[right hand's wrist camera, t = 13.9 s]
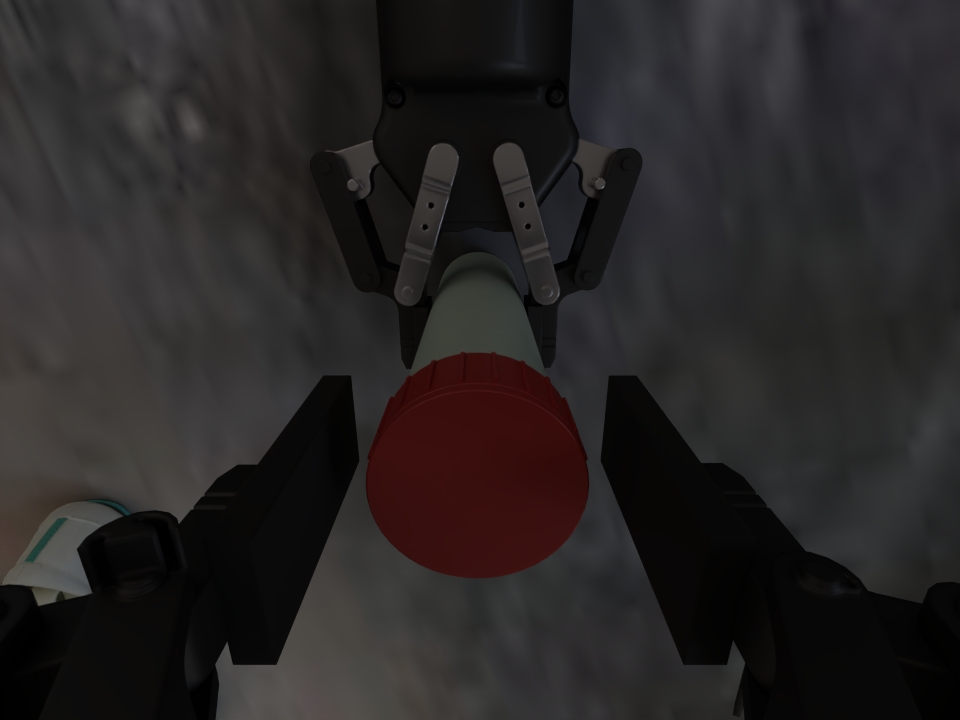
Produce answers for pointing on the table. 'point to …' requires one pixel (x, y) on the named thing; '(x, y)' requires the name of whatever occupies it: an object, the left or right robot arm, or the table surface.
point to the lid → (477, 467)
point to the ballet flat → (61, 551)
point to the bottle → (478, 314)
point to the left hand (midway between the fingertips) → (477, 372)
